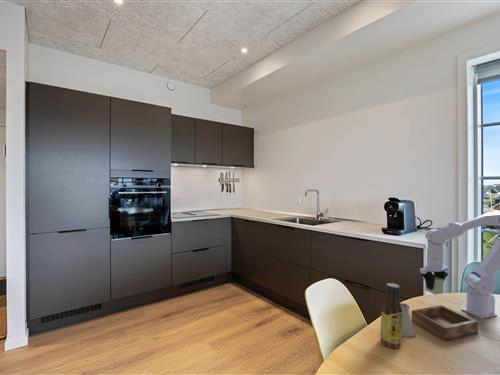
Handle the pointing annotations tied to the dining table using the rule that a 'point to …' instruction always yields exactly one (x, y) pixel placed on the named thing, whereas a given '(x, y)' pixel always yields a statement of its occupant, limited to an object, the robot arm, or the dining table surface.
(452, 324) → the walnut crate
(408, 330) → the flask
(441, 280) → the green block
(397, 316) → the sauce bottle
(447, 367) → the dining table surface
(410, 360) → the dining table surface
